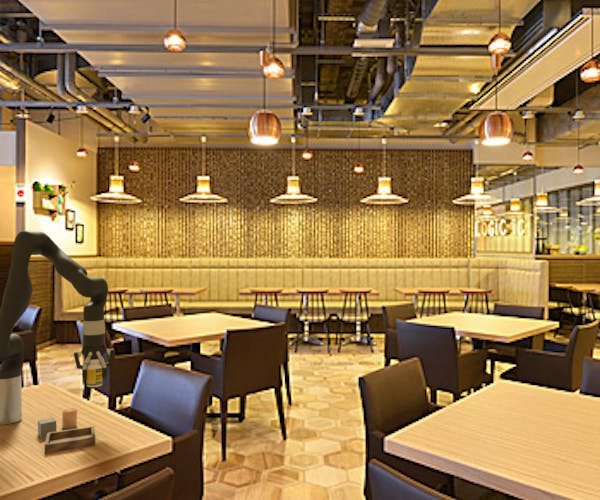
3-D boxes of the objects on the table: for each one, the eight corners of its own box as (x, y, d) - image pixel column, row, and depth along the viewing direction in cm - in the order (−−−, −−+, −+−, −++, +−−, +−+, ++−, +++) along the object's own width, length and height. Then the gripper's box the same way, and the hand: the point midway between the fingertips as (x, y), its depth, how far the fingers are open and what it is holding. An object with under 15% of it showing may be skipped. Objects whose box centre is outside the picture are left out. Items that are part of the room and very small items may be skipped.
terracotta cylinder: (63, 429, 183) (63, 413, 183) (61, 425, 188) (61, 409, 188) (77, 427, 186) (78, 411, 186) (75, 423, 190) (76, 407, 190)
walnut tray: (44, 453, 162) (44, 444, 162) (47, 440, 173) (47, 432, 173) (95, 445, 168) (94, 437, 168) (94, 433, 179) (94, 425, 179)
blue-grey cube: (41, 438, 176) (40, 424, 176) (38, 434, 180) (37, 420, 180) (56, 435, 179) (56, 420, 179) (53, 431, 183) (53, 417, 183)
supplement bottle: (96, 387, 181) (96, 360, 181) (83, 387, 182) (83, 360, 182) (105, 383, 186) (105, 357, 186) (92, 383, 187) (92, 356, 187)
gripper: (114, 329, 190) (115, 374, 190) (72, 332, 184) (73, 378, 185) (115, 332, 183) (116, 379, 183) (72, 335, 178) (72, 383, 178)
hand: (94, 378), depth 184 cm, fingers closed on supplement bottle, 5 cm apart
